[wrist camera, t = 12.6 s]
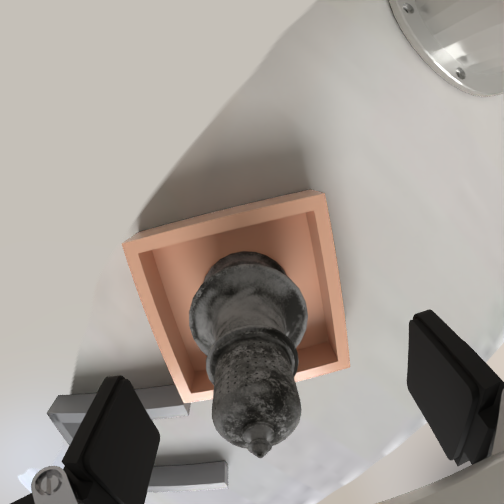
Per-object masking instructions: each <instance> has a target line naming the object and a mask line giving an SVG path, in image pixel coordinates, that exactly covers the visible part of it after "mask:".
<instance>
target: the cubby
mask: <svg viewBox="0 0 504 504" xmlns="http://www.w3.org/2000/svg"><path fill="white" fill-rule="evenodd" d="M135 392H136V394H137V395H138V397H139V399H140V401H141V403H142V404H143V406H144V408H145V409H146V411H147V413H148V415H149V416H150V418H151V420H152V419H163V418H173V417H181V416H189V410H190V404H191V402H190V403H184V402H183V400H182V398H181V396H180V394H179V392H178V389H177V387H176V385H168V386H160V387H152V388H144V389H136V390H135ZM96 394H97V393H91V394H75V395H58V397H57V398H56V400H55V401H54V403H53V404H52V406H51V407H50V409H49V410H48V412H47V414H48V416H49V417H50V419H51V420H52V422H53V423H54V425H55V426H56V428H57V429H58V430H59V432H60V433H61V435H62V436H63V437H64V439H65V440H66V441H67V443H68V444H69V445H70V444H71V442H72V440H73V438H74V436H75V434H76V432H77V430H78V428H79V426H80V424H81V422H82V420H83V418H84V417H85V415H86V413H87V411H88V409H89V407H90V405H91V403H92V401H93V400H94V398H95V396H96ZM224 488H228V466H227V464H226V462H225V461H221V462H212V463H202V464H191V465H177V466H157V467H153V469H152V474H151V478H150V482H149V486H148V490H147V492H183V491H201V490H213V489H224Z"/></svg>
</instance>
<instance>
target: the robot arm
mask: <svg viewBox="0 0 504 504" xmlns="http://www.w3.org/2000/svg"><path fill="white" fill-rule="evenodd" d="M389 2H390V5H391V8H392V11H393V14H394V16H395V18H396V20H397V22H398V24H399V26H400V28H401V30H402V32H403V33H404V35H405V36H406V38H407V39H408V41H409V42H410V44H411V45H412V47H413V48H414V49H415V50H416V52H417V53H418V54H419V55H420V57H421V58H422V59H423V60H424V61H425V62H426V63H427V64H428V65H429V66H430V67H431V68H432V69H433V70H434V71H435V72H436V73H437V74H438V75H439V76H441V77H442V78H443V79H444V80H446V81H447V82H448V83H450V84H451V85H453V86H455V87H456V88H458V89H460V90H461V91H464V92H466V93H469V94H471V95H475V96H481V97H488V96H496V95H499V94H502V93H504V0H389ZM407 386H408V390H409V392H410V393H411V395H412V397H413V398H414V400H415V402H416V403H417V405H418V407H419V409H420V410H421V412H422V414H423V415H424V417H425V419H426V420H427V422H428V424H429V425H430V427H431V429H432V431H433V433H434V434H435V436H436V438H437V439H438V441H439V443H440V445H441V447H442V448H443V450H444V452H445V454H446V456H447V457H448V459H449V460H453V459H454V460H455V462H456V464H457V466H459V465H461V464H463V463H465V462H467V461H470V462H471V464H472V465H471V466H469V467H467V468H465V469H463V470H461V471H458V472H456V473H454V474H452V475H450V476H448V477H445V478H443V479H441V480H439V481H436V482H434V483H431V484H429V485H426V486H424V487H421V488H419V489H416V490H413V491H411V492H408V493H406V494H403V495H400V496H397V497H395V498H391V499H389V500H385V501H382V502H379V503H376V504H504V382H503V381H502V380H501V379H500V378H499V377H498V375H497V374H496V373H495V372H494V371H493V370H492V369H491V368H490V367H489V366H488V365H487V364H486V363H485V362H484V361H483V360H482V359H481V357H480V356H479V355H478V354H477V353H476V352H475V351H474V350H473V349H472V348H471V347H470V346H469V345H468V344H467V343H466V342H465V341H463V340H462V339H461V338H460V337H459V336H458V335H457V334H456V333H455V332H454V331H453V330H452V329H451V328H450V327H449V326H448V325H447V324H446V323H445V322H444V321H443V320H441V319H440V318H439V317H438V316H437V315H436V314H435V313H434V312H433V311H432V310H426V311H423V312H420V313H417V314H415V315H414V317H413V320H410V322H409V350H408V372H407ZM159 442H160V434H159V431H158V429H157V428H156V426H155V425H154V423H153V421H152V420H151V418H150V416H149V415H148V413H147V411H146V409H145V408H144V406H143V404H142V403H141V401H140V399H139V397H138V395H137V394H136V392H135V390H134V388H133V386H132V384H131V383H130V381H129V380H128V379H125V378H124V377H123V376H111V377H106V378H105V379H104V381H103V383H102V385H101V387H100V389H99V390H98V392H97V394H96V396H95V398H94V400H93V401H92V403H91V405H90V407H89V409H88V411H87V413H86V415H85V417H84V418H83V420H82V422H81V424H80V426H79V428H78V430H77V432H76V434H75V436H74V438H73V440H72V442H71V444H70V446H69V448H68V450H67V452H66V454H65V456H64V458H63V460H62V463H63V464H64V465H65V467H64V469H62V468H60V467H57V466H49V467H46V468H43V469H42V470H40V471H39V472H38V473H37V474H36V475H35V477H34V478H33V480H32V484H31V490H32V493H31V494H29V495H27V496H25V497H23V498H21V499H19V500H17V501H15V502H13V503H11V504H144V503H145V498H146V494H147V490H148V486H149V482H150V478H151V474H152V469H153V465H154V461H155V458H156V454H157V450H158V446H159Z"/></svg>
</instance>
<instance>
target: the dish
mask: <svg viewBox="0 0 504 504" xmlns="http://www.w3.org/2000/svg"><path fill="white" fill-rule="evenodd" d="M122 246H123V249H124V253H125V256H126V259H127V262H128V265H129V268H130V271H131V274H132V277H133V280H134V283H135V286H136V288H137V291H138V294H139V297H140V300H141V302H142V305H143V308H144V310H145V313H146V316H147V318H148V321H149V323H150V326H151V329H152V331H153V334H154V336H155V339H156V341H157V343H158V346H159V348H160V351H161V353H162V355H163V358H164V360H165V363H166V365H167V367H168V369H169V372H170V374H171V376H172V378H173V381H174V383H175V385H176V387H177V389H178V392H179V394H180V396H181V398H182V400H183V402H184V403H190V402H197V401H203V400H210V399H213V391H214V385H213V384H212V382H211V381H210V380H209V377H208V374H207V371H206V358H207V355H206V354H204V353H203V352H202V351H201V350H200V348H199V347H198V345H197V344H196V342H195V341H194V339H193V336H192V333H191V330H190V327H189V310H190V306H191V303H192V299H193V297H194V295H195V294H196V292H197V291H198V289H199V287H200V286H201V285H202V284H203V282H204V279H205V276H206V274H207V273H208V271H209V270H210V268H211V267H212V266H213V265H214V264H215V263H216V262H217V261H219V260H220V259H221V258H223V257H225V256H227V255H229V254H232V253H237V252H241V251H249V252H257V253H261V254H264V255H267V256H268V257H270V258H272V259H273V260H275V261H276V262H277V263H278V264H279V265H280V266H281V267H282V268H283V269H284V271H285V273H286V275H287V276H288V277H289V278H290V279H291V280H292V281H293V282H294V283H295V284H296V285H297V287H298V288H299V289H300V291H301V293H302V295H303V297H304V299H305V301H306V306H307V312H308V321H307V328H306V331H305V334H304V336H303V338H302V340H301V342H300V344H299V345H298V346H297V347H296V349H297V352H298V359H299V364H298V370H297V373H296V375H295V377H294V380H295V382H298V381H302V380H306V379H310V378H314V377H317V376H321V375H325V374H328V373H332V372H335V371H339V370H342V369H346V368H349V367H350V359H349V349H348V340H347V331H346V323H345V314H344V307H343V299H342V292H341V285H340V278H339V271H338V265H337V258H336V252H335V246H334V240H333V234H332V229H331V223H330V218H329V212H328V207H327V202H326V197H325V193H322V192H319V191H315V190H312V189H310V190H305V191H301V192H296V193H292V194H287V195H283V196H278V197H274V198H270V199H265V200H261V201H257V202H253V203H248V204H244V205H240V206H236V207H232V208H228V209H224V210H220V211H216V212H212V213H208V214H204V215H200V216H196V217H192V218H188V219H185V220H181V221H177V222H173V223H169V224H166V225H162V226H158V227H155V228H151V229H148V230H144V231H140V232H138V233H136V234H135V235H133V236H132V237H131V238H129V239H128V240H126V241H125V242H123V243H122Z"/></svg>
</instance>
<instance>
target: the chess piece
mask: <svg viewBox="0 0 504 504" xmlns="http://www.w3.org/2000/svg"><path fill="white" fill-rule="evenodd" d="M307 321H308V312H307V306H306V301H305V299H304V297H303V295H302V293H301V291H300V289H299V288H298V287H297V285H296V284H295V283H294V282H293V281H292V280H291V279H290V278H289V277H288V276H287V275H286V273H285V271H284V269H283V268H282V267H281V266H280V265H279V264H278V263H277V262H276V261H275V260H273V259H272V258H270V257H268V256H267V255H264V254H261V253H257V252H249V251H241V252H237V253H232V254H229V255H227V256H225V257H223V258H221V259H220V260H219V261H217V262H216V263H215V264H214V265H213V266H212V267H211V268H210V270H209V271H208V273H207V274H206V276H205V279H204V282H203V284H202V285H201V286H200V287H199V289H198V291H197V292H196V294H195V295H194V297H193V299H192V303H191V306H190V310H189V327H190V330H191V333H192V336H193V339H194V341H195V342H196V344H197V345H198V347H199V348H200V350H201V351H202V352H203V353H204V354H206V355H207V358H206V371H207V374H208V377H209V380H210V381H211V382H212V384H213V385H214V391H213V403H212V419H213V423H214V425H215V428H216V430H217V431H218V433H219V434H220V435H221V436H222V437H223V438H224V439H226V440H227V441H228V442H230V443H232V444H233V445H236V446H239V447H242V448H247V449H248V450H249V451H250V452H251V453H253V454H254V455H255V456H257V457H258V458H262V457H264V455H266V454H267V452H268V451H270V450H271V448H272V446H273V445H276V444H278V443H280V442H281V441H283V440H285V439H286V438H287V437H288V436H289V435H290V434H291V433H292V432H293V431H294V430H295V428H296V427H297V425H298V423H299V421H300V416H301V403H300V398H299V395H298V391H297V387H296V383H295V380H294V377H295V375H296V373H297V370H298V364H299V359H298V352H297V349H296V347H297V346H298V345H299V344H300V342H301V340H302V338H303V336H304V334H305V331H306V328H307Z"/></svg>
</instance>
